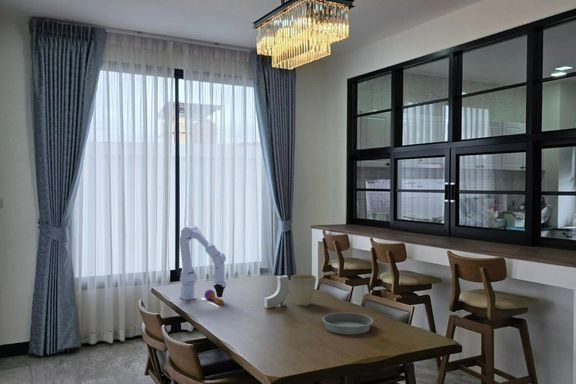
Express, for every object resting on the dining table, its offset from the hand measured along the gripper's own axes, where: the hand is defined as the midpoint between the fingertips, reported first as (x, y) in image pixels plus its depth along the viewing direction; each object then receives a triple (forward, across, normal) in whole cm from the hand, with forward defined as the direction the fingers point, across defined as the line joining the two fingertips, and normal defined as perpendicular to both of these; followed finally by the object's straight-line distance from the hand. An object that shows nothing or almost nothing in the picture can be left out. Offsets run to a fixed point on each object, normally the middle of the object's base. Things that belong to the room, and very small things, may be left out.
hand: (219, 296), depth 289 cm
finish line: (+2, 0, +6) cm, 7 cm away
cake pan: (+4, -83, -30) cm, 88 cm away
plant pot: (+3, -33, -38) cm, 50 cm away
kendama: (+3, 0, +3) cm, 4 cm away
